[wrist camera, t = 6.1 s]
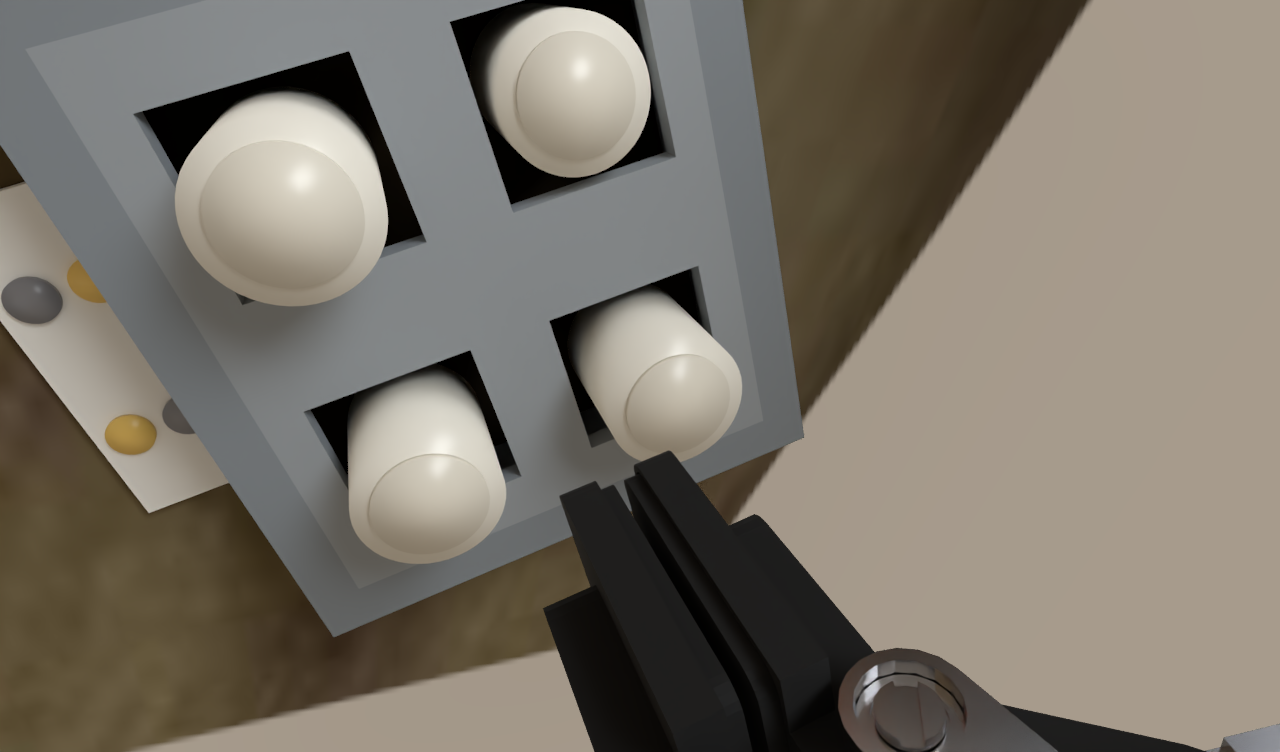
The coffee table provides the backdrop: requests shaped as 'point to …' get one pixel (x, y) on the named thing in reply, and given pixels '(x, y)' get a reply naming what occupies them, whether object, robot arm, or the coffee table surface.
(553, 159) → the button
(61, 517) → the coffee table surface
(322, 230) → the button
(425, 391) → the button
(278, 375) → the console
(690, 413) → the button
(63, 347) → the card
